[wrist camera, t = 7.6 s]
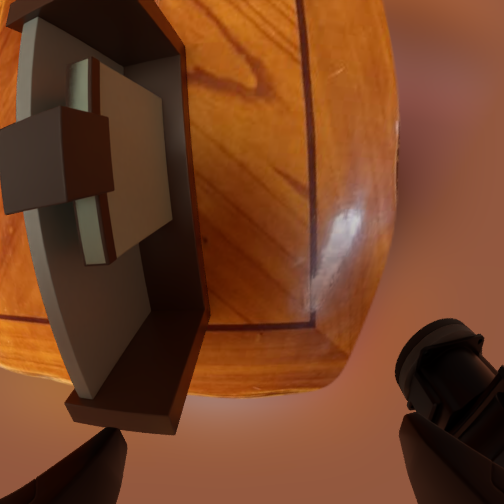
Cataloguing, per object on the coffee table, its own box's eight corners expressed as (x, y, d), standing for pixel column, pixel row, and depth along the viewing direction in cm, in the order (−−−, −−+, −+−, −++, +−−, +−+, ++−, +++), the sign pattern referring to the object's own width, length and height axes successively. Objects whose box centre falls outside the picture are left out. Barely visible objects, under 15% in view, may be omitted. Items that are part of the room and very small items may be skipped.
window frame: (185, 46, 17) (119, -48, 6) (210, 315, 21) (175, 436, 11) (113, 62, 17) (10, 3, 6) (143, 317, 22) (73, 422, 11)
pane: (173, 96, 16) (65, 20, 5) (184, 218, 18) (86, 298, 7) (135, 103, 16) (1, 53, 5) (146, 222, 18) (22, 298, 7)
